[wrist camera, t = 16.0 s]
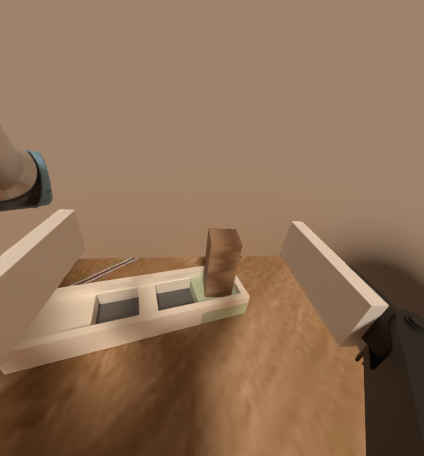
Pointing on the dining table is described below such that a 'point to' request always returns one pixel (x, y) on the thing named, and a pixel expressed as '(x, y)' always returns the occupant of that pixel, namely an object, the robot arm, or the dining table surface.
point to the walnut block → (221, 262)
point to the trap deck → (119, 315)
